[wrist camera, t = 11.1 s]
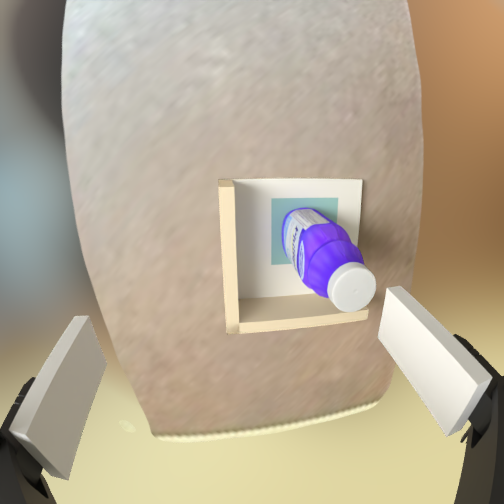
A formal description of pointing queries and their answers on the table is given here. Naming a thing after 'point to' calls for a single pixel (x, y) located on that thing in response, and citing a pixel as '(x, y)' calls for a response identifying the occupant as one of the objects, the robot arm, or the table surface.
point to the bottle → (327, 259)
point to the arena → (278, 251)
